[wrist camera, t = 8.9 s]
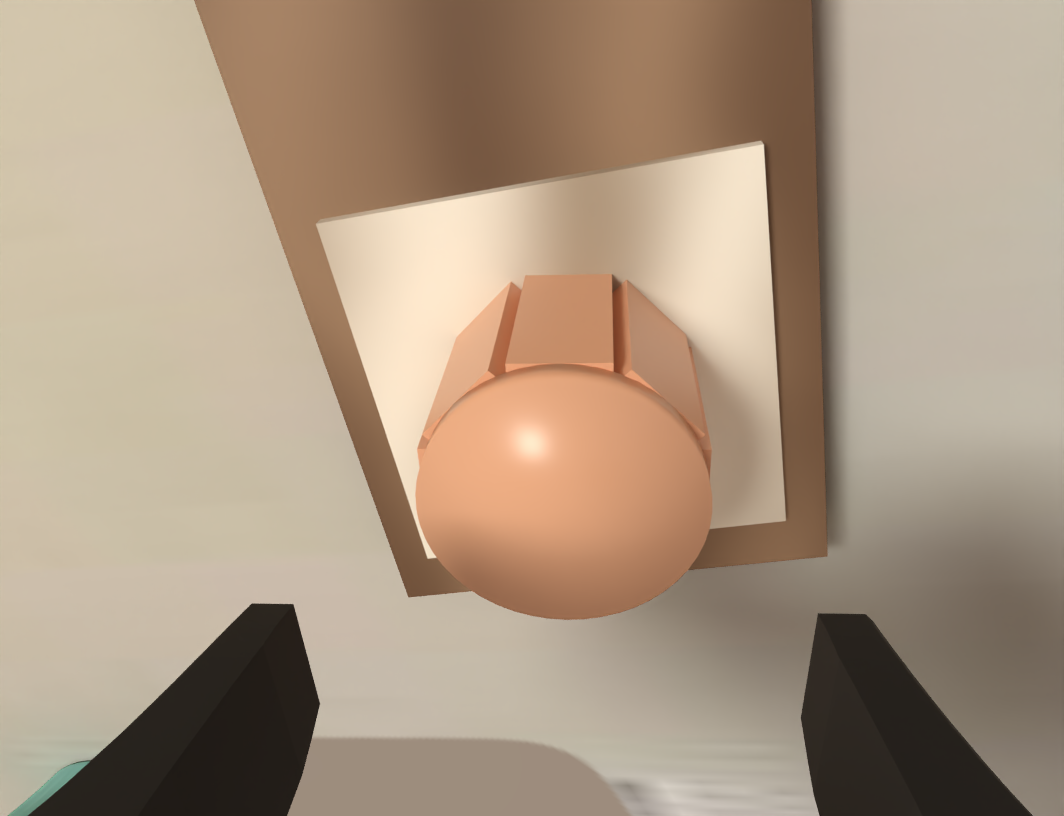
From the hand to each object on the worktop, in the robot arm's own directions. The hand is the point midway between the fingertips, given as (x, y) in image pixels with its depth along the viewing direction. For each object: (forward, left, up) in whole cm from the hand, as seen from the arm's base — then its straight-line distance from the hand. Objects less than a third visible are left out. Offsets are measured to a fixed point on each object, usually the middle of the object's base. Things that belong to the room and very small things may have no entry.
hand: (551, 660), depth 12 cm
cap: (0, 0, -8) cm, 8 cm away
